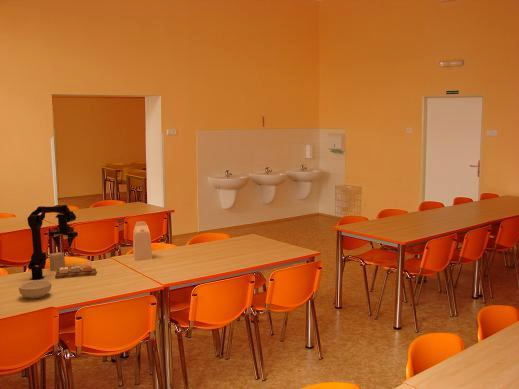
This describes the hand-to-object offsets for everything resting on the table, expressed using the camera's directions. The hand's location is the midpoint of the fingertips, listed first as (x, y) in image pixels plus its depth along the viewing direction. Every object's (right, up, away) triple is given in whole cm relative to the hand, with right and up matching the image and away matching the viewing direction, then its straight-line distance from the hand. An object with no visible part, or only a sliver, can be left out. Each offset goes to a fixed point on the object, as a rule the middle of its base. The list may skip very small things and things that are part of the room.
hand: (64, 246), depth 365 cm
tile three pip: (+20, -13, -15) cm, 29 cm away
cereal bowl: (+5, -22, -59) cm, 63 cm away
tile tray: (+13, -16, -17) cm, 27 cm away
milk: (+47, -10, +23) cm, 54 cm away
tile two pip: (+13, -14, -17) cm, 26 cm away
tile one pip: (+7, -14, -19) cm, 25 cm away
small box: (-4, -15, -2) cm, 15 cm away
